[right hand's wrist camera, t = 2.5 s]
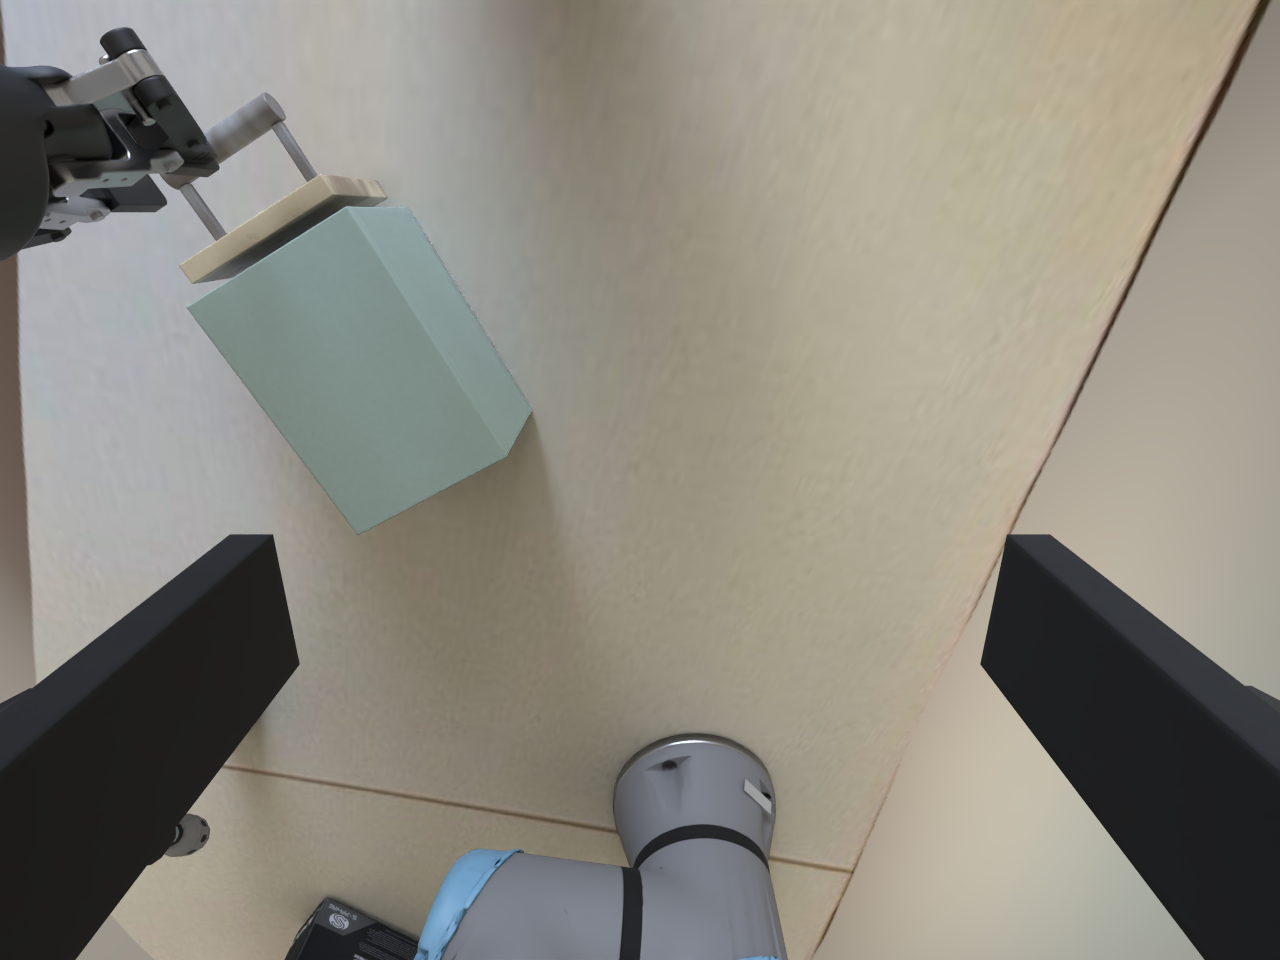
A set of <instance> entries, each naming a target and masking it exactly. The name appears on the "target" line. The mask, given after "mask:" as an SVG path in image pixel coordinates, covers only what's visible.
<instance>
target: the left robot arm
mask: <svg viewBox="0 0 1280 960" xmlns="http://www.w3.org/2000/svg"><path fill="white" fill-rule="evenodd" d="M100 44H101V45H102V47H103V48H104V49H105V51H106V52H107V54H108V55H106V56H103V57H101V58H100V59H99V63H100V64H101V66H98V67H96V68H93V69H91V70H89V71H86V72H84V73H82V74H79V75H77V76H74V77H73V76H71V75H70V74H69V73H67V72H65V71H64V70H61V69H59V68H56V67H51V66H33V67H7V66H5V65H3V64H1V63H0V262H2V261H4V260H6V259H8V258H10V257H11V256H13V255H15V254H16V253H17V252H19V251H20V250H21V249H25V248H30V247H34V246H38V245H42V244H46V243H50V242H58V241H61V240H63V239H65V238H66V236H68V235H69V234H70V233H71V229H70V228H69V227H70V226H71V225H73V224H75V223H76V222H84V223H89V222H98V221H101V220H103V219H104V218H105V217H106V216H107V215H108V214H109V213H110V212H156V211H158V210H159V209H161V208H162V207H164V206H165V205H166V204H167V200H166V198H165V197H164V195H163V194H162V193H161V191H160V190H159V188H158V187H157V186H156V184H155V183H154V181H153V180H152V179H151V177H150V176H149V175H148V174H154V173H165V174H173V175H185V176H198V177H209V176H210V175H212V174H213V173H215V172H216V171H218V170H219V165H218V163H217V161H216V160H215V159H216V158H218V155H217V154H216V152H215V151H214V149H213V148H212V146H211V145H210V144H209V142H208V141H207V139H206V136H205V135H204V133H203V132H202V130H201V129H200V127H199V126H198V124H197V123H196V121H195V120H194V118H193V117H192V115H191V114H190V112H189V111H188V109H187V108H186V106H185V105H184V103H183V102H182V100H181V99H180V97H179V96H178V95H177V93H176V92H175V90H174V89H173V87H172V86H171V84H170V83H169V81H168V80H167V79H166V77H165V76H164V74H163V73H162V71H161V70H160V68H159V67H158V65H157V64H156V62H155V61H154V60H153V58H152V57H151V55H150V54H149V52H148V51H147V49H146V48H145V46H144V45H143V43H142V42H141V41H140V39H139V38H138V36H137V35H136V33H135V32H134V30H132V29H130V28H117V29H114V30H111V31H109V32H107V33H106V34H104V35H103V36H102V38H101V40H100ZM128 132H129V133H130V134H129V133H128ZM131 136H132V137H133V138H132V137H131ZM134 140H135V141H134Z"/></svg>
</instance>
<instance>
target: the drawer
mask: <svg viewBox="0 0 1280 960" xmlns="http://www.w3.org/2000/svg"><path fill="white" fill-rule="evenodd" d="M285 119H286V116H285V113H284V111H283V110H282V108H281V106H280V105H279V104H278V102H277V101H276V100H275V99H274V98H273V97H272V96H271V95H270V94H268V93H263V94H261V95H260V96H258V97H257V98H255V99H254V100H253V101H251V102H250V103H248V104H247V105H245V106H244V107H242V108H241V109H239V110H238V111H236V112H235V113H233V114H232V115H230V116H229V117H228V118H226V119H225V120H223V121H222V122H220V123H219V124H217V125H216V126H214V127H213V128H211V129H210V130H208V131H207V132H206V133H204V135H205V136H206V139H207V141H208V142H209V144H210V145H211V146H212V148H213V149H214V151H215V152H216V154H217V155H218V158H216V159H215V160H216V161H217V163H218V164H220V163H221V162H223V161H224V160H226V159H227V158H229V157H230V156H232V155H233V154H235V153H236V152H238V151H239V150H241V149H242V148H244V147H245V146H247V145H248V144H250V143H251V142H253V141H254V140H256V139H257V138H259V137H260V136H262V135H263V134H265V133H266V132H268V131H269V130H271V129H273V130H274V132H275V133H276V135H277V136H278V138H279V139H280V141H281V142H282V144H283V145H284V147H285V148H286V150H287V152H288V153H289V155H290V156H291V158H292V159H293V161H294V162H295V164H296V165H297V167H298V168H299V170H300V172H301V173H302V175H303V176H304V178H305V179H306V181H307V183H306V184H304V185H303V186H301V187H300V188H298V189H296V190H295V191H293V192H292V193H290V194H289V195H287V196H286V197H284V198H282V199H281V200H279V201H278V202H276V203H275V204H273V205H272V206H270V207H268V208H267V209H265V210H264V211H262V212H261V213H259V214H258V215H256V216H255V217H253V218H251V219H250V220H248V221H247V222H245V223H244V224H242V225H241V226H239V227H237V228H236V229H234V230H233V231H231V232H230V233H228V234H227V233H226V232H225V230H224V229H223V228H222V226H221V225H220V223H219V222H218V221H217V219H216V218H215V216H214V215H213V213H212V212H211V211H210V209H209V208H208V206H207V205H206V204H205V202H204V201H203V199H202V198H201V196H200V195H199V194H198V192H197V191H196V189H195V188H194V187H193V185H192V184H190V183H191V182H193V181H194V180H196V179H197V178H199V177H198V176H185V175H173V174H165V173H159V174H160V175H161V177H162V178H163V179H164V181H165V182H166V183H167V184H169V185H170V186H171V187H173V188H175V189H177V190H180V191H181V192H182V194H183V195H184V197H185V198H186V199H187V201H188V202H189V204H190V205H191V206H192V208H193V209H194V211H195V212H196V213H197V215H198V216H199V218H200V219H201V220H202V222H203V223H204V225H205V226H206V227H207V229H208V230H209V232H210V233H211V234H212V236H213V237H214V239H215V240H216V242H214V243H213V244H211V245H209V246H208V247H206V248H205V249H203V250H202V251H200V252H199V253H197V254H196V255H194V256H192V257H191V258H189V259H188V260H186V261H185V262H183V263H182V264H180V265H179V267H180V268H181V269H182V271H183V272H184V273H185V275H186V276H187V278H188V279H189V280H190V282H191V283H192V284H195V283H202V282H208V281H214V280H221V279H227V278H233V277H235V276H236V275H238V274H240V273H241V272H243V271H244V270H246V269H248V268H249V267H251V266H252V265H254V264H256V263H257V262H259V261H260V260H262V259H263V258H265V257H267V256H268V255H270V254H271V253H273V252H275V251H276V250H278V249H279V248H281V247H283V246H284V245H286V244H287V243H289V242H290V241H292V240H294V239H295V238H297V237H298V236H300V235H302V234H303V233H305V232H306V231H308V230H310V229H311V228H313V227H314V226H316V225H317V224H319V223H321V222H322V221H324V220H325V219H327V218H329V217H330V216H332V215H333V214H335V213H337V212H338V211H340V210H341V209H343V208H345V207H347V206H349V207H374V206H376V205H377V204H379V203H380V202H382V201H384V200H385V199H387V198H388V197H387V195H386V194H385V192H384V190H383V189H382V187H381V186H380V184H379V182H378V181H372V180H364V179H355V178H347V177H339V176H331V175H322V174H320V175H317V174H316V172H315V170H314V169H313V167H312V166H311V164H310V163H309V161H308V160H307V158H306V156H305V155H304V153H303V152H302V150H301V149H300V147H299V146H298V144H297V142H296V141H295V139H294V138H293V136H292V135H291V133H290V132H289V130H288V129H287V127H286V125H285V124H284V123H283V121H284V120H285Z"/></svg>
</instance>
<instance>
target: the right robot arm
mask: <svg viewBox="0 0 1280 960" xmlns="http://www.w3.org/2000/svg"><path fill="white" fill-rule="evenodd" d="M298 666H299V659H298V654H297V649H296V645H295V640H294V635H293V630H292V625H291V620H290V615H289V610H288V606H287V601H286V596H285V591H284V586H283V581H282V576H281V572H280V567H279V562H278V557H277V552H276V547H275V542H274V538H273V535H229V536H228V537H226V538H225V539H224V540H222V541H221V542H220V543H219V544H217V545H216V546H215V547H213V548H212V549H211V550H210V551H208V552H207V553H206V554H204V555H203V556H202V557H201V558H199V559H198V560H197V561H195V562H194V563H193V564H192V565H190V566H189V567H188V568H186V569H185V570H184V571H183V572H181V573H180V574H179V575H177V576H176V577H175V578H174V579H172V580H171V581H170V582H168V583H167V584H166V585H165V586H163V587H162V588H161V589H159V590H158V591H157V592H156V593H154V594H153V595H152V596H150V597H149V598H148V599H147V600H145V601H144V602H143V603H141V604H140V605H139V606H138V607H136V608H135V609H134V610H132V611H131V612H130V613H129V614H127V615H126V616H125V617H123V618H122V619H121V620H120V621H118V622H117V623H116V624H114V625H113V626H112V627H111V628H109V629H108V630H107V631H105V632H104V633H103V634H102V635H100V636H99V637H98V638H96V639H95V640H94V641H93V642H91V643H90V644H89V645H87V646H86V647H85V648H84V649H82V650H81V651H80V652H78V653H77V654H76V655H75V656H73V657H72V658H71V659H69V660H68V661H67V662H66V663H64V664H63V665H62V666H60V667H59V668H58V669H57V670H55V671H54V672H53V673H51V674H50V675H49V676H48V677H46V678H45V679H44V680H42V681H41V682H40V683H39V684H37V685H36V686H35V687H33V688H30V689H28V690H26V691H24V692H22V693H20V694H18V695H16V696H14V697H12V698H10V699H8V700H6V701H4V702H2V703H1V704H0V960H76V958H77V957H78V956H79V954H80V953H81V952H82V950H83V949H84V948H85V946H86V945H87V944H88V942H89V941H90V940H91V939H92V937H93V936H94V935H95V933H96V932H97V931H98V929H99V928H100V927H101V925H102V924H103V923H104V921H105V920H106V919H107V917H108V916H109V915H110V913H111V912H112V911H113V910H114V908H115V907H116V906H117V904H118V903H119V902H120V900H121V899H122V898H123V896H124V895H125V894H126V892H127V891H128V890H129V888H130V887H131V886H132V884H133V883H134V882H135V881H136V879H137V878H138V877H139V875H140V874H141V873H142V871H143V870H144V869H145V867H146V866H147V865H148V863H149V862H150V861H151V859H152V858H153V857H154V855H155V854H156V853H157V852H158V850H159V849H160V848H161V846H162V845H163V844H164V842H165V841H166V840H167V838H168V837H169V836H170V834H171V833H172V832H173V830H174V829H175V828H176V826H177V825H178V824H179V823H180V821H181V820H182V819H183V817H184V816H185V815H186V813H187V812H188V811H189V809H190V808H191V807H192V805H193V804H194V803H195V801H196V800H197V799H198V798H199V796H200V795H201V794H202V792H203V791H204V790H205V788H206V787H207V786H208V784H209V783H210V782H211V780H212V779H213V778H214V776H215V775H216V774H217V772H218V771H219V770H220V769H221V767H222V766H223V765H224V763H225V762H226V761H227V759H228V758H229V757H230V755H231V754H232V753H233V751H234V750H235V749H236V747H237V746H238V745H239V743H240V742H241V741H242V740H243V738H244V737H245V736H246V734H247V733H248V732H249V730H250V729H251V728H252V726H253V725H254V724H255V722H256V721H257V720H258V718H259V717H260V716H261V714H262V713H263V712H264V711H265V709H266V708H267V707H268V705H269V704H270V703H271V701H272V700H273V699H274V697H275V696H276V695H277V693H278V692H279V691H280V689H281V688H282V687H283V685H284V684H285V683H286V682H287V680H288V679H289V678H290V676H291V675H292V674H293V672H294V671H295V670H296V668H297V667H298ZM981 666H982V667H983V668H984V670H985V671H986V672H987V674H988V675H989V676H990V678H991V679H992V680H993V681H994V683H995V684H996V685H997V687H998V688H999V689H1000V691H1001V692H1002V693H1003V695H1004V696H1005V697H1006V699H1007V700H1008V701H1009V703H1010V704H1011V705H1012V706H1013V708H1014V709H1015V710H1016V712H1017V713H1018V714H1019V716H1020V717H1021V718H1022V720H1023V721H1024V722H1025V724H1026V725H1027V726H1028V728H1029V729H1030V730H1031V732H1032V733H1033V734H1034V736H1035V737H1036V738H1037V739H1038V741H1039V742H1040V743H1041V745H1042V746H1043V747H1044V749H1045V750H1046V751H1047V753H1048V754H1049V755H1050V757H1051V758H1052V759H1053V761H1054V762H1055V763H1056V765H1057V766H1058V767H1059V768H1060V770H1061V771H1062V772H1063V774H1064V775H1065V776H1066V778H1067V779H1068V780H1069V782H1070V783H1071V784H1072V786H1073V787H1074V788H1075V790H1076V791H1077V792H1078V794H1079V795H1080V796H1081V797H1082V799H1083V800H1084V801H1085V803H1086V804H1087V805H1088V807H1089V808H1090V809H1091V811H1092V812H1093V813H1094V815H1095V816H1096V817H1097V819H1098V820H1099V821H1100V823H1101V824H1102V825H1103V826H1104V828H1105V829H1106V830H1107V832H1108V833H1109V834H1110V836H1111V837H1112V838H1113V840H1114V841H1115V842H1116V844H1117V845H1118V846H1119V848H1120V849H1121V850H1122V852H1123V853H1124V854H1125V855H1126V857H1127V858H1128V859H1129V861H1130V862H1131V863H1132V865H1133V866H1134V867H1135V869H1136V870H1137V871H1138V873H1139V874H1140V875H1141V877H1142V878H1143V879H1144V881H1145V882H1146V883H1147V884H1148V886H1149V887H1150V888H1151V890H1152V891H1153V892H1154V894H1155V895H1156V896H1157V898H1158V899H1159V900H1160V902H1161V903H1162V904H1163V906H1164V907H1165V908H1166V910H1167V911H1168V912H1169V913H1170V915H1171V916H1172V917H1173V919H1174V920H1175V921H1176V923H1177V924H1178V925H1179V927H1180V928H1181V929H1182V930H1183V932H1184V933H1185V935H1186V936H1187V937H1188V939H1189V940H1190V941H1191V942H1192V944H1193V945H1194V946H1195V948H1196V949H1197V950H1198V952H1199V953H1200V954H1201V956H1202V957H1203V958H1204V960H1280V700H1278V699H1276V698H1274V697H1272V696H1270V695H1268V694H1266V693H1264V692H1262V691H1260V690H1258V689H1256V688H1254V687H1252V686H1244V685H1243V684H1241V683H1240V682H1239V681H1238V680H1236V679H1235V678H1234V677H1232V676H1231V675H1230V674H1229V673H1227V672H1226V671H1225V670H1223V669H1222V668H1221V667H1220V666H1218V665H1217V664H1216V663H1214V662H1213V661H1212V660H1211V659H1209V658H1208V657H1207V656H1205V655H1204V654H1203V653H1202V652H1200V651H1199V650H1198V649H1196V648H1195V647H1194V646H1193V645H1191V644H1190V643H1189V642H1187V641H1186V640H1185V639H1184V638H1182V637H1181V636H1180V635H1178V634H1177V633H1176V632H1175V631H1173V630H1172V629H1171V628H1169V627H1168V626H1167V625H1166V624H1164V623H1163V622H1162V621H1160V620H1159V619H1158V618H1157V617H1155V616H1154V615H1153V614H1151V613H1150V612H1149V611H1148V610H1146V609H1145V608H1144V607H1142V606H1141V605H1140V604H1139V603H1137V602H1136V601H1135V600H1133V599H1132V598H1131V597H1130V596H1128V595H1127V594H1126V593H1124V592H1123V591H1122V590H1121V589H1119V588H1118V587H1117V586H1115V585H1114V584H1113V583H1112V582H1110V581H1109V580H1108V579H1106V578H1105V577H1104V576H1103V575H1101V574H1100V573H1099V572H1097V571H1096V570H1095V569H1094V568H1092V567H1091V566H1090V565H1088V564H1087V563H1086V562H1085V561H1083V560H1082V559H1081V558H1079V557H1078V556H1077V555H1076V554H1074V553H1073V552H1072V551H1070V550H1069V549H1068V548H1067V547H1065V546H1064V545H1063V544H1061V543H1060V542H1059V541H1058V540H1056V539H1055V538H1054V537H1052V536H1051V535H1007V538H1006V542H1005V547H1004V552H1003V557H1002V562H1001V567H1000V572H999V576H998V581H997V586H996V591H995V596H994V601H993V606H992V610H991V615H990V620H989V625H988V630H987V635H986V640H985V644H984V650H983V654H982V659H981ZM613 812H614V819H615V825H616V829H617V832H618V835H619V836H620V839H621V842H622V845H623V848H624V851H625V854H626V857H627V860H628V863H629V865H630V868H627V867H621V866H614V865H606V864H599V863H591V862H584V861H576V860H569V859H561V858H554V857H546V856H539V855H532V854H525V853H524V851H522V850H520V849H514V850H509V851H500V850H488V849H475V850H472V851H470V852H468V853H466V854H464V855H463V856H461V857H460V858H459V859H458V860H457V861H456V862H455V863H454V864H453V866H452V867H451V869H450V870H449V872H448V873H447V875H446V877H445V879H444V881H443V883H442V885H441V887H440V889H439V891H438V893H437V895H436V898H435V900H434V902H433V905H432V907H431V910H430V912H429V915H428V917H427V920H426V923H425V925H424V928H423V931H422V934H421V937H420V940H419V943H418V951H417V954H416V956H415V958H414V960H788V958H787V953H786V948H785V944H784V939H783V934H782V929H781V924H780V919H779V915H778V910H777V905H776V900H775V895H774V890H773V885H772V880H771V877H770V871H769V865H768V859H769V853H770V847H771V841H772V835H773V829H774V823H775V817H776V804H775V794H774V790H773V785H772V781H771V778H770V775H769V773H768V771H767V769H766V767H765V766H764V764H763V763H762V762H761V761H760V759H759V758H758V757H757V756H756V755H755V754H754V753H752V752H751V751H750V750H748V749H747V748H745V747H744V746H742V745H740V744H738V743H736V742H734V741H732V740H729V739H726V738H723V737H719V736H714V735H708V734H683V735H677V736H672V737H668V738H665V739H662V740H659V741H656V742H654V743H652V744H650V745H648V746H647V747H645V748H643V749H642V750H640V751H639V752H638V753H636V754H635V755H634V756H633V757H632V758H631V759H630V760H629V761H628V762H627V763H626V764H625V766H624V767H623V769H622V770H621V772H620V774H619V776H618V778H617V781H616V784H615V788H614V800H613Z"/></svg>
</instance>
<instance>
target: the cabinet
mask: <svg viewBox="0 0 1280 960" xmlns="http://www.w3.org/2000/svg"><path fill="white" fill-rule="evenodd" d="M187 309H188V310H189V312H190V313H191V314H192V316H193V317H194V318H195V320H196V321H197V322H198V324H199V325H200V326H201V327H202V329H203V330H204V331H205V333H206V334H207V335H208V337H209V338H210V339H211V341H212V342H213V343H214V345H215V346H216V347H217V349H218V350H219V351H220V353H221V354H222V355H223V357H224V358H225V359H226V361H227V362H228V363H229V365H230V366H231V367H232V369H233V370H234V371H235V373H236V374H237V375H238V377H239V378H240V379H241V381H242V382H243V383H244V385H245V386H246V387H247V389H248V390H249V391H250V393H251V394H252V395H253V397H254V398H255V399H256V401H257V402H258V403H259V405H260V406H261V407H262V409H263V410H264V411H265V412H266V414H267V415H268V416H269V418H270V419H271V420H272V422H273V423H274V424H275V426H276V427H277V428H278V430H279V431H280V432H281V434H282V435H283V436H284V438H285V439H286V440H287V442H288V443H289V444H290V446H291V447H292V448H293V450H294V451H295V452H296V454H297V455H298V456H299V458H300V459H301V460H302V462H303V463H304V464H305V466H306V467H307V468H308V470H309V471H310V472H311V474H312V475H313V476H314V478H315V479H316V480H317V482H318V483H319V484H320V486H321V487H322V488H323V490H324V491H325V492H326V494H327V495H328V496H329V497H330V499H331V500H332V501H333V503H334V504H335V505H336V507H337V508H338V509H339V511H340V512H341V513H342V515H343V516H344V517H345V519H346V520H347V521H348V523H349V524H350V525H351V527H352V528H353V529H354V531H355V532H356V533H357V535H360V534H361V533H363V532H365V531H367V530H369V529H371V528H373V527H375V526H377V525H378V524H380V523H382V522H384V521H386V520H388V519H390V518H392V517H394V516H396V515H397V514H399V513H401V512H403V511H405V510H407V509H409V508H411V507H413V506H414V505H416V504H418V503H420V502H422V501H424V500H426V499H428V498H430V497H432V496H433V495H435V494H437V493H439V492H441V491H443V490H445V489H447V488H449V487H450V486H452V485H454V484H456V483H458V482H460V481H462V480H464V479H466V478H468V477H469V476H471V475H473V474H475V473H477V472H479V471H481V470H483V469H485V468H486V467H488V466H490V465H492V464H494V463H496V462H498V461H500V460H502V459H504V458H505V457H507V455H508V454H509V451H510V450H511V448H512V446H513V444H514V442H515V441H516V439H517V437H518V435H519V433H520V431H521V430H522V428H523V426H524V424H525V422H526V421H527V419H528V417H529V415H530V414H531V412H532V409H531V407H530V405H529V404H528V402H527V400H526V399H525V397H524V395H523V394H522V392H521V391H520V389H519V387H518V386H517V384H516V382H515V381H514V379H513V377H512V376H511V374H510V373H509V371H508V369H507V368H506V366H505V364H504V363H503V361H502V359H501V358H500V356H499V355H498V353H497V351H496V350H495V348H494V346H493V345H492V343H491V341H490V340H489V338H488V337H487V335H486V333H485V332H484V330H483V328H482V327H481V325H480V323H479V322H478V320H477V319H476V317H475V315H474V314H473V312H472V310H471V309H470V307H469V306H468V304H467V302H466V301H465V299H464V297H463V296H462V294H461V292H460V291H459V289H458V288H457V286H456V284H455V283H454V281H453V279H452V278H451V276H450V274H449V273H448V271H447V270H446V268H445V266H444V265H443V263H442V261H441V260H440V258H439V256H438V255H437V253H436V252H435V250H434V248H433V247H432V245H431V243H430V242H429V240H428V238H427V237H426V235H425V234H424V232H423V230H422V229H421V227H420V225H419V224H418V222H417V220H416V219H415V217H414V216H413V214H412V212H411V211H410V209H409V208H386V207H349V206H347V207H345V208H343V209H341V210H340V211H338V212H337V213H335V214H333V215H332V216H330V217H329V218H327V219H325V220H324V221H322V222H321V223H319V224H317V225H316V226H314V227H313V228H311V229H310V230H308V231H306V232H305V233H303V234H302V235H300V236H298V237H297V238H295V239H294V240H292V241H290V242H289V243H287V244H286V245H284V246H283V247H281V248H279V249H278V250H276V251H275V252H273V253H271V254H270V255H268V256H267V257H265V258H263V259H262V260H260V261H259V262H257V263H256V264H254V265H252V266H251V267H249V268H248V269H246V270H244V271H243V272H241V273H240V274H238V275H236V276H235V277H233V278H232V279H230V280H228V281H227V282H225V283H224V284H222V285H221V286H219V287H217V288H216V289H214V290H213V291H211V292H209V293H208V294H206V295H205V296H203V297H201V298H200V299H198V300H197V301H195V302H194V303H192V304H190V305H189V306H187Z"/></svg>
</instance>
